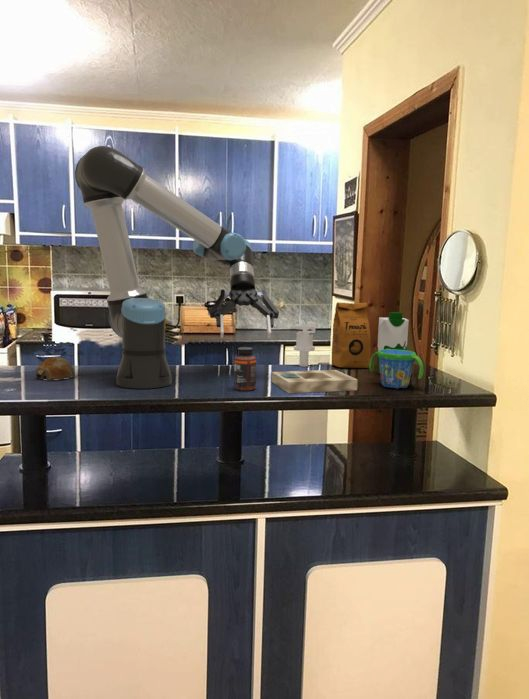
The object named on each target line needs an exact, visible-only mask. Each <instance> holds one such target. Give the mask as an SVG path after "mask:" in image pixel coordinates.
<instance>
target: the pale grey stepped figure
mask: <svg viewBox="0 0 529 699" xmlns="http://www.w3.org/2000/svg"><path fill="white" fill-rule="evenodd" d="M316 324H317V323H316V322H315V321H307V323H304V324H302V323H301V324H298V323H297V324H294V329H295V330H298V332H296V340H295V341H296V342H295V343H296V344H295V345H294V346H293V350H294V351H299V363H298V364H299V367H305V368H306V367H309V355H310V354H309V353H310V352H314V351H315V350H316V349H315V348H316V347H315V346H314V345H313V344H314V342H313V340H314V334H315V333H316V327H317V326H316ZM301 330H302V331H301ZM310 333H311V335H310ZM312 333H313V334H312Z"/></svg>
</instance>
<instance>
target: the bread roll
mask: <svg viewBox="0 0 529 699" xmlns="http://www.w3.org/2000/svg"><path fill="white" fill-rule="evenodd" d="M35 371H36V374H35V377H36V378H38V379H39V380H40V379H47V380H54V379H64V378H70V377H71V376H73V375H74V371H73V366H72V364H71V362H70V361H69V360H67V359H65V357H64V358H63V357H60V356H51V357H49V358H47V359H45V360H43V361H42V362H41V363H40V364H39V366H38V367H37V368H35ZM70 379H71V378H70Z"/></svg>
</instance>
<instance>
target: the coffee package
mask: <svg viewBox="0 0 529 699" xmlns="http://www.w3.org/2000/svg"><path fill="white" fill-rule="evenodd" d="M367 304H368V303H367V302H354V303H353V302H352V303H351V302H336V304H335V310H334V312H335V313H334V318H333V322H332V323H333V324H332V342H331V365H332V366H335V367H338V368H342V369H363V368H364V369H365V368H366V369H369V364H370V360H371V346H372V345H371V339H372V337H371V329H370V321H369V318H368V311H367V306H368V305H367Z"/></svg>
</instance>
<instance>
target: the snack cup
mask: <svg viewBox="0 0 529 699" xmlns="http://www.w3.org/2000/svg"><path fill="white" fill-rule="evenodd" d="M377 354H378V357H379V362H380V374H381V375H380V374H379V375H380V383H381V385H382V386H383V387H384V388H390V389H396V390H398V389H399V388H403V389H407V388H408V386H409V384H410V380H411V375H412V370H413V365H414V364H415V361H416V362H417V364H418V366H419V371H418V376H417V379H418V380H421V379H422V377H423V375H424V364H423V361H422V359H421V358H420V357H419V356H418V355H417V354H416V352H414V351H411V350H408V349H407V350H398V349H382V350H379V351H378V352H377V351H376V352H375V353H373V354H372V355H371V356H370V364H369V367H368V369H369V371H370V372H371V373H373V372H375V363H374V362H375V359H376V357H377Z"/></svg>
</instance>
